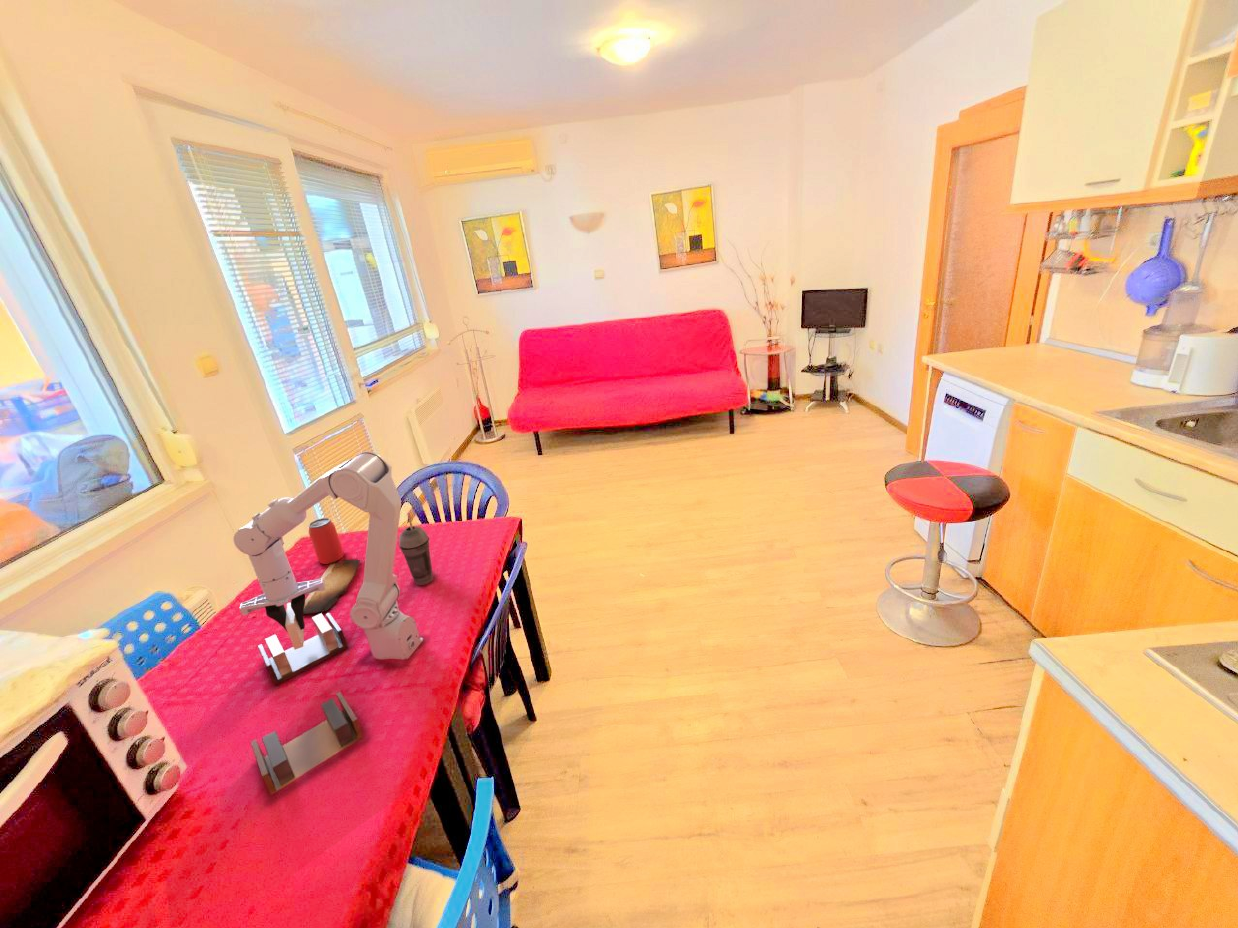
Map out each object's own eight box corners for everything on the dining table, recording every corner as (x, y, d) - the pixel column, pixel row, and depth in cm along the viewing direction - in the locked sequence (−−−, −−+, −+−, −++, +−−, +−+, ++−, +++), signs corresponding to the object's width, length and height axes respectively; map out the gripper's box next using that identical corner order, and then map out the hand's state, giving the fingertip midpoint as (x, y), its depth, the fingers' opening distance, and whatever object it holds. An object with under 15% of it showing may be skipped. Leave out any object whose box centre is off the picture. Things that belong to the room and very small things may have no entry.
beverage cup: (429, 569, 137) (412, 503, 130) (444, 577, 133) (427, 510, 125) (404, 582, 132) (385, 514, 125) (418, 591, 128) (399, 522, 120)
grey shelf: (348, 711, 93) (340, 691, 92) (365, 739, 87) (357, 718, 85) (260, 763, 85) (250, 741, 83) (272, 799, 78) (262, 776, 77)
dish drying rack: (335, 629, 116) (327, 608, 114) (348, 647, 110) (340, 625, 108) (265, 664, 107) (255, 641, 105) (275, 685, 101) (265, 662, 99)
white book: (304, 622, 111) (295, 600, 108) (303, 646, 103) (294, 623, 101) (295, 625, 110) (287, 603, 108) (294, 649, 103) (285, 626, 100)
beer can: (322, 555, 149) (309, 519, 144) (346, 550, 151) (334, 515, 146) (316, 567, 143) (303, 530, 139) (342, 561, 145) (329, 525, 140)
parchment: (332, 562, 144) (331, 560, 144) (367, 557, 145) (366, 554, 145) (292, 619, 121) (291, 616, 121) (335, 611, 122) (333, 609, 122)
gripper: (228, 597, 94) (254, 654, 99) (316, 570, 101) (335, 625, 106) (233, 579, 100) (257, 634, 105) (315, 555, 107) (334, 608, 112)
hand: (296, 628), depth 106 cm, fingers closed on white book, 2 cm apart
